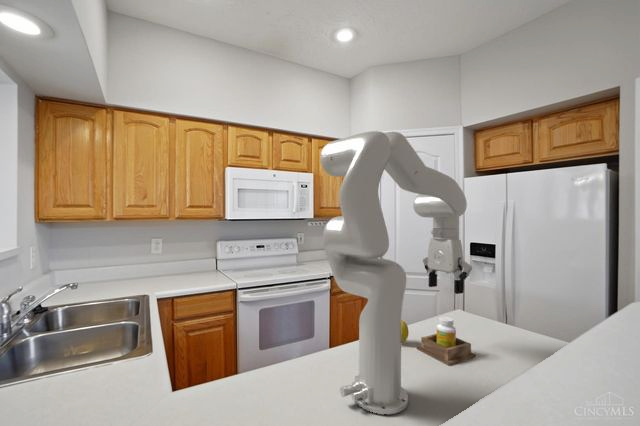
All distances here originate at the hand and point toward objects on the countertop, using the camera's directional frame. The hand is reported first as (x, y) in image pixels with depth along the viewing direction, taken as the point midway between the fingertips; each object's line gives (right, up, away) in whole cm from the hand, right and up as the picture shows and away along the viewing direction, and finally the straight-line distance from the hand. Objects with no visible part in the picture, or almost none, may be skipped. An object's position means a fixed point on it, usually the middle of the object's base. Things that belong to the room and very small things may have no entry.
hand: (445, 289), depth 91 cm
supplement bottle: (0, -19, -1) cm, 19 cm away
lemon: (-12, -20, +6) cm, 24 cm away
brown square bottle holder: (0, -19, 0) cm, 19 cm away
